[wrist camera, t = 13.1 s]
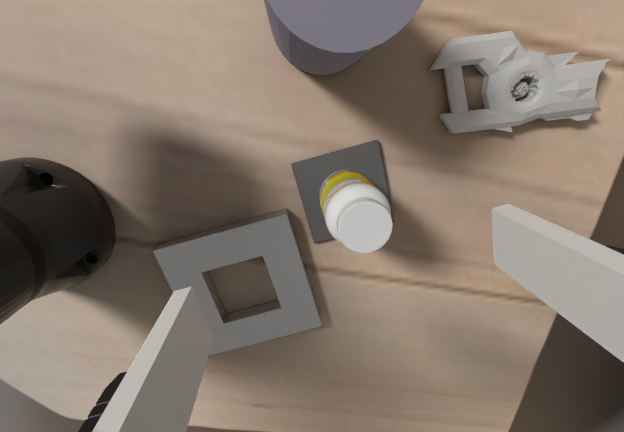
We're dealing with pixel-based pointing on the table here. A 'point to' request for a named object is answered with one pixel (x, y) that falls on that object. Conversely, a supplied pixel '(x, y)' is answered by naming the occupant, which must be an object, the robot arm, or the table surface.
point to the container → (334, 29)
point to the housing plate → (236, 248)
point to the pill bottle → (355, 211)
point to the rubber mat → (321, 167)
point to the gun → (515, 83)
